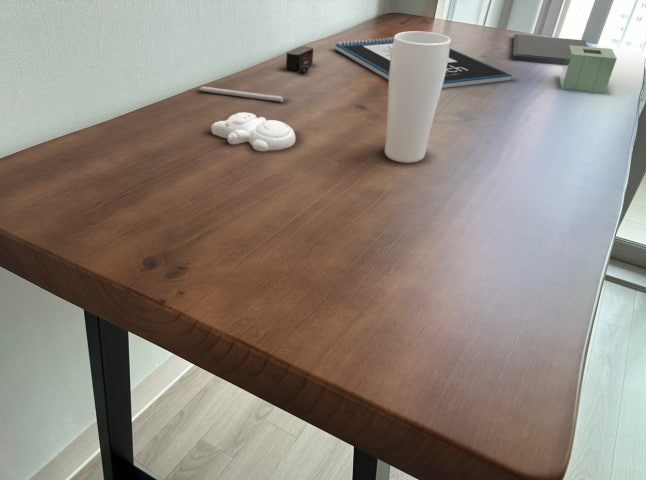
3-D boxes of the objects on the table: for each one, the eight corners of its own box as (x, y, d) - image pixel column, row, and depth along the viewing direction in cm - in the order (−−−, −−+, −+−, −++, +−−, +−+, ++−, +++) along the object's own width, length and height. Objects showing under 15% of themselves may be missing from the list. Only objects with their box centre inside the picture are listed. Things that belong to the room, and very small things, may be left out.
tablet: (583, 45, 129) (585, 39, 128) (592, 68, 113) (594, 62, 112) (513, 39, 132) (514, 33, 132) (512, 60, 117) (513, 54, 116)
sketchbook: (409, 94, 99) (411, 82, 98) (332, 51, 121) (333, 41, 120) (510, 81, 105) (513, 69, 104) (419, 42, 128) (421, 33, 127)
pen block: (600, 83, 105) (611, 48, 102) (604, 94, 100) (616, 58, 96) (559, 78, 107) (569, 44, 104) (561, 89, 102) (571, 54, 98)
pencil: (200, 86, 97) (283, 97, 93) (199, 91, 97) (282, 102, 93) (197, 85, 96) (282, 95, 92) (196, 90, 97) (280, 101, 92)
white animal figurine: (242, 119, 87) (242, 99, 85) (307, 139, 81) (308, 118, 79) (202, 136, 81) (200, 115, 79) (268, 158, 75) (268, 136, 73)
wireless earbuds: (282, 71, 108) (282, 53, 106) (301, 63, 113) (301, 46, 111) (304, 76, 106) (304, 57, 104) (322, 67, 111) (323, 49, 109)
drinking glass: (378, 145, 80) (392, 29, 71) (427, 148, 79) (448, 32, 70) (378, 165, 74) (394, 42, 65) (432, 168, 73) (455, 45, 65)
